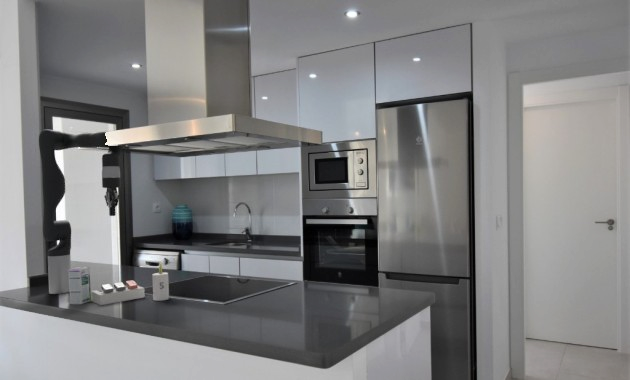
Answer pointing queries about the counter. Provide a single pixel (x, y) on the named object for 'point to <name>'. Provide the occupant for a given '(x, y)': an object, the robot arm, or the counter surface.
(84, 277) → the syrup box
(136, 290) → the power strip
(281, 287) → the counter surface
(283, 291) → the counter surface
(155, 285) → the candle
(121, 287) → the rocker
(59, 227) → the robot arm
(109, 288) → the rocker
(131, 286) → the rocker
